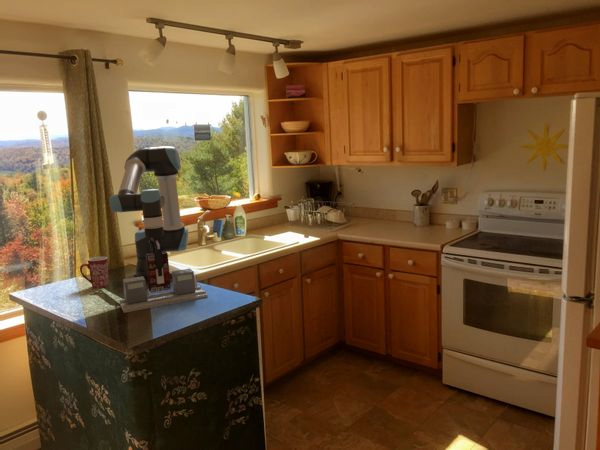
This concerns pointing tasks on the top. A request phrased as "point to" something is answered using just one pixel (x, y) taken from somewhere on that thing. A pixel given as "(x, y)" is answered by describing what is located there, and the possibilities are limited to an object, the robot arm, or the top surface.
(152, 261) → the supplement box
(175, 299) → the rail base
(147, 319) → the top surface
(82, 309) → the top surface
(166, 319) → the top surface
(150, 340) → the top surface
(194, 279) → the block
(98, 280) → the mug
